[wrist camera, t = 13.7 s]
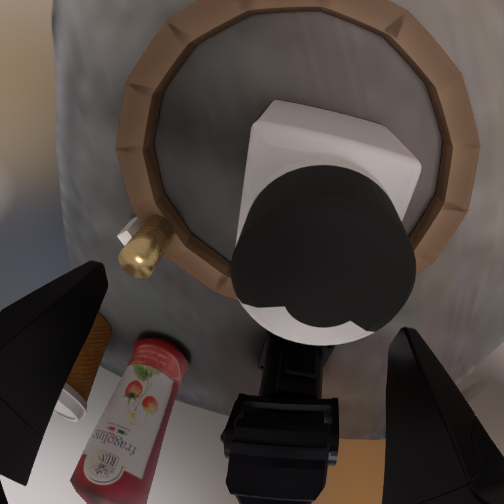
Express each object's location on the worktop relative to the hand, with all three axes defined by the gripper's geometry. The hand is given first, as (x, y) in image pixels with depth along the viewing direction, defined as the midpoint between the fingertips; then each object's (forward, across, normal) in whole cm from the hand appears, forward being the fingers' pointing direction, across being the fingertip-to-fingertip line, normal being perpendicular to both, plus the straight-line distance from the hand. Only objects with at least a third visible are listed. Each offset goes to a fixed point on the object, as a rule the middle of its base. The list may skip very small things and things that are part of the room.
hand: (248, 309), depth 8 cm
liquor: (+13, +9, +24) cm, 29 cm away
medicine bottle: (+13, -2, 0) cm, 13 cm away
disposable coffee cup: (+13, +19, +23) cm, 33 cm away
